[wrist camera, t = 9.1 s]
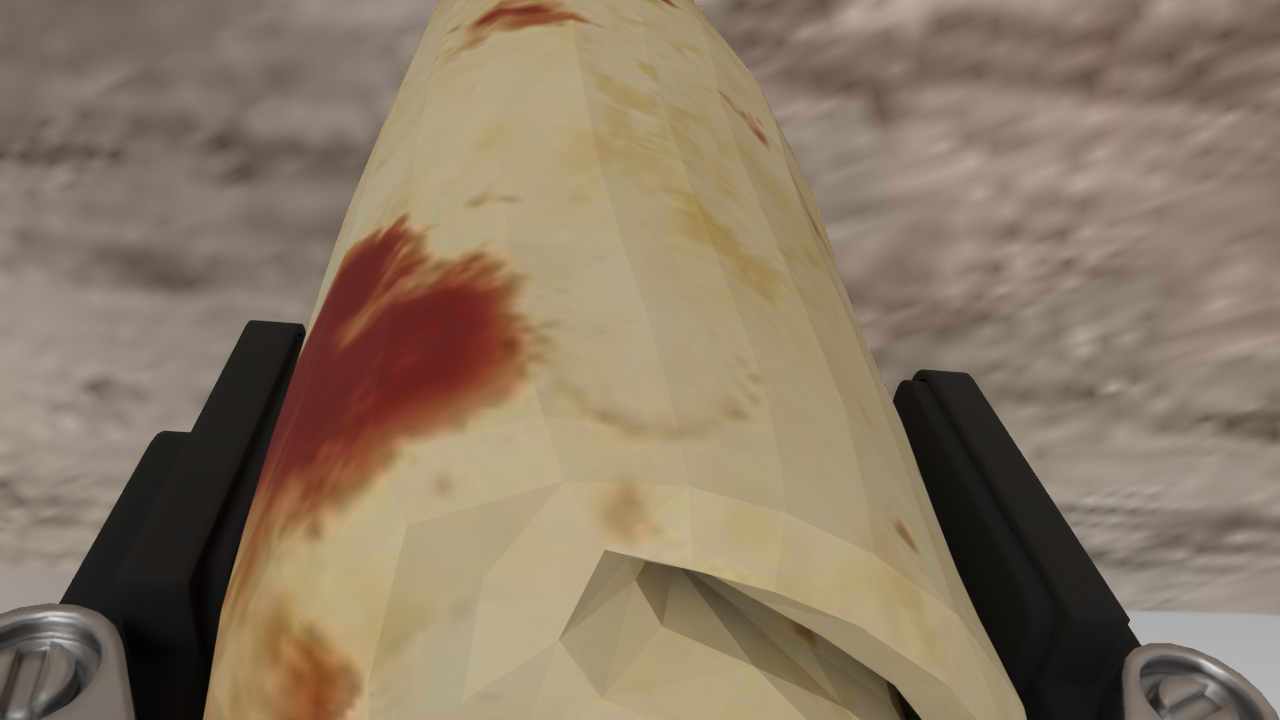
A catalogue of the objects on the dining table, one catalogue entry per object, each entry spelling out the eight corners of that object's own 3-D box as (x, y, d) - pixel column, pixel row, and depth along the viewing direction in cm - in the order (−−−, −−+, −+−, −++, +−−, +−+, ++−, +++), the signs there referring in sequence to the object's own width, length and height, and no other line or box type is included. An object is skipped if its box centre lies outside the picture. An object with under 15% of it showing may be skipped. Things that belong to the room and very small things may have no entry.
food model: (398, -128, 20) (-466, 639, 3) (726, -139, 20) (1571, 499, 3) (457, 296, 25) (259, 1434, 8) (716, 282, 25) (1031, 1350, 9)
